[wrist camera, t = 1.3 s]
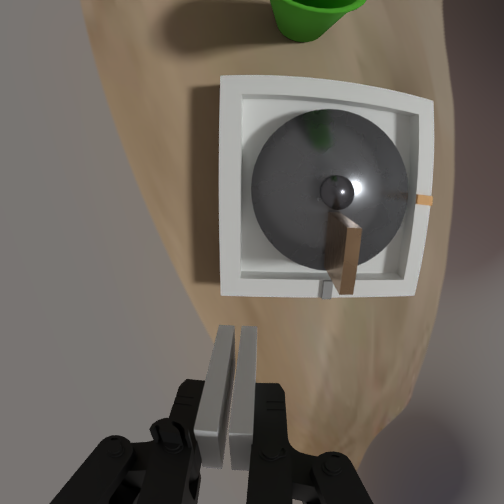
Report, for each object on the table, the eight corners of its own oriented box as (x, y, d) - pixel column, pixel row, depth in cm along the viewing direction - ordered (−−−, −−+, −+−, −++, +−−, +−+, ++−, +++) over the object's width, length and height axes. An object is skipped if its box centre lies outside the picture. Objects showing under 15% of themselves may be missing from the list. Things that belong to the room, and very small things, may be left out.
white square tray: (225, 84, 26) (219, 74, 23) (417, 105, 26) (435, 100, 22) (224, 281, 33) (220, 297, 29) (402, 283, 33) (415, 297, 29)
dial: (252, 107, 26) (248, 86, 18) (403, 123, 25) (446, 115, 17) (250, 263, 30) (246, 299, 23) (391, 265, 30) (425, 297, 22)
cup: (312, 73, 26) (336, 32, 15) (242, 30, 24) (233, -22, 14) (353, 25, 23) (388, -21, 13) (288, -15, 22) (296, -70, 11)
